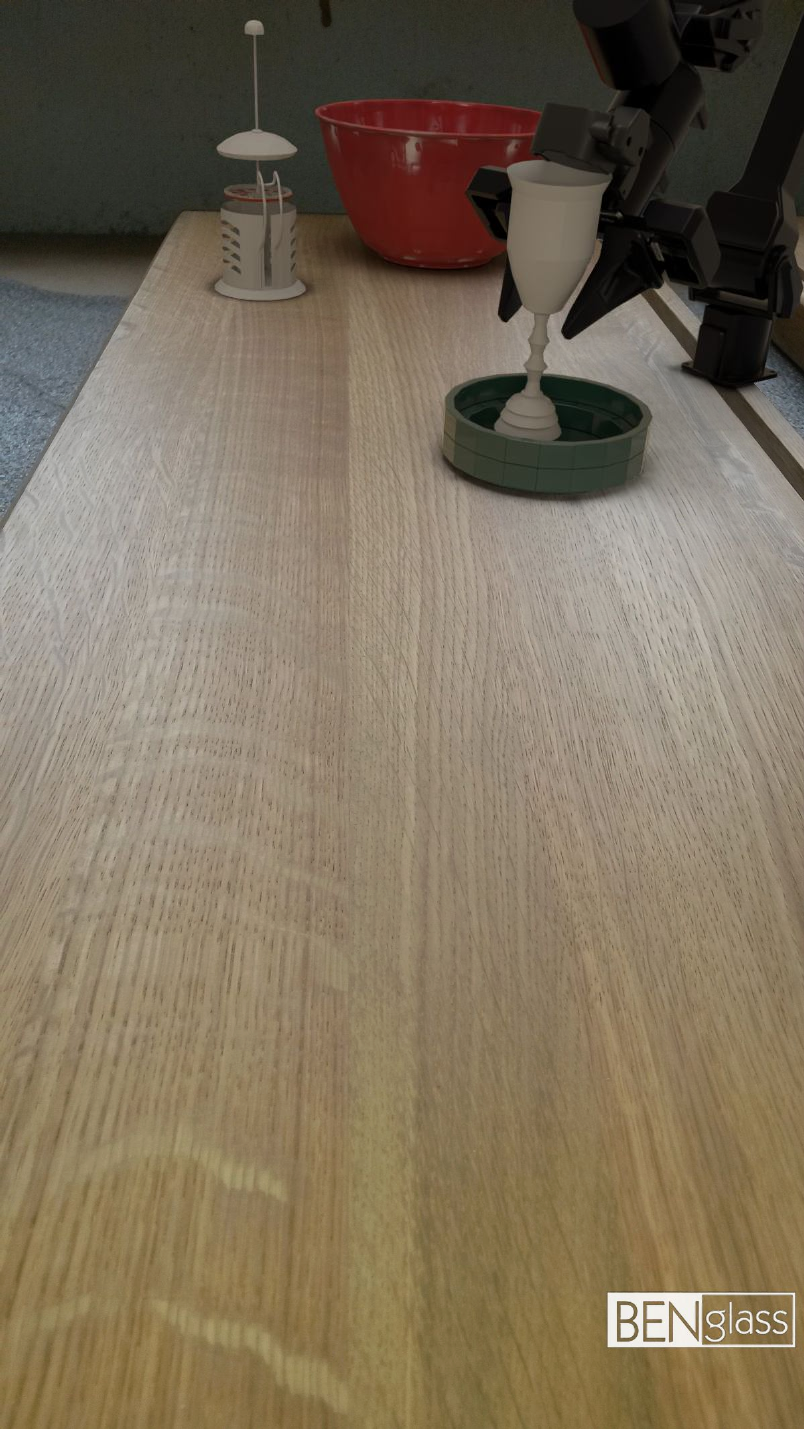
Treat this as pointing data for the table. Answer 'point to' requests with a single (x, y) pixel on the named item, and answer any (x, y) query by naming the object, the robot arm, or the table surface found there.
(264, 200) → the french press
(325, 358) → the table surface
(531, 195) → the chalice
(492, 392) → the dish
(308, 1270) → the table surface
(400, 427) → the table surface
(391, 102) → the mixing bowl
